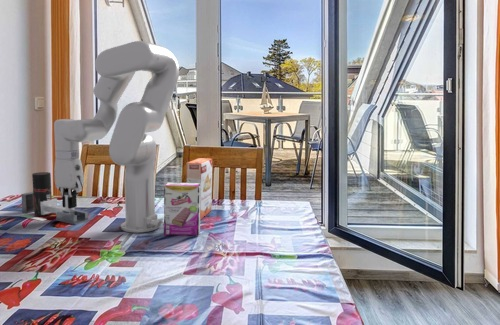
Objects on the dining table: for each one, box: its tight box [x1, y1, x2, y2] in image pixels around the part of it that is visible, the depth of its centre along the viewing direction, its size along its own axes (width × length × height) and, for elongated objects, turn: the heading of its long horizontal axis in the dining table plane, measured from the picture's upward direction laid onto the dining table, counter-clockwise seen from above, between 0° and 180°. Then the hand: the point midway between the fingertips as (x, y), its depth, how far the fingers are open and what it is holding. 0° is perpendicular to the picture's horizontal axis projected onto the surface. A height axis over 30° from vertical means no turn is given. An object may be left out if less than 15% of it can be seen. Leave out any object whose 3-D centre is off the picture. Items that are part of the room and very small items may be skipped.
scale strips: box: [31, 216, 48, 222], centre depth 151 cm, size 6×13×1 cm, turn 152°
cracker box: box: [186, 157, 214, 221], centre depth 155 cm, size 14×6×21 cm, turn 168°
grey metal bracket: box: [55, 209, 92, 226], centre depth 146 cm, size 10×6×3 cm, turn 62°
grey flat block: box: [20, 191, 34, 214], centre depth 156 cm, size 2×6×7 cm, turn 152°
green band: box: [20, 213, 36, 220], centre depth 154 cm, size 6×13×1 cm, turn 152°
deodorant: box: [31, 171, 53, 217], centre depth 153 cm, size 6×6×15 cm
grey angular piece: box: [40, 192, 76, 216], centre depth 149 cm, size 13×6×9 cm, turn 62°
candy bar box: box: [163, 182, 201, 237], centre depth 133 cm, size 11×5×16 cm, turn 92°
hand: (69, 206), depth 146 cm, fingers closed on grey angular piece, 2 cm apart
